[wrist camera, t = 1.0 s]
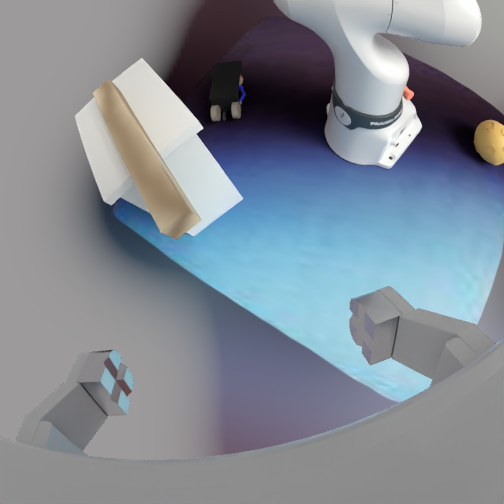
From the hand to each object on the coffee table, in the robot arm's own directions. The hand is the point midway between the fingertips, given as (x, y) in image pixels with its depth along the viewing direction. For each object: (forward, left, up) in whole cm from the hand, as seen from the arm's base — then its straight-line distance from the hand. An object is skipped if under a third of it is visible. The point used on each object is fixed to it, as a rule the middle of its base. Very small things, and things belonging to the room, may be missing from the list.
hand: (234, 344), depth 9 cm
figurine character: (-16, -44, -40) cm, 62 cm away
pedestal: (+2, -31, -40) cm, 51 cm away
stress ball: (-56, +1, -40) cm, 69 cm away
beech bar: (+2, -24, -14) cm, 28 cm away
